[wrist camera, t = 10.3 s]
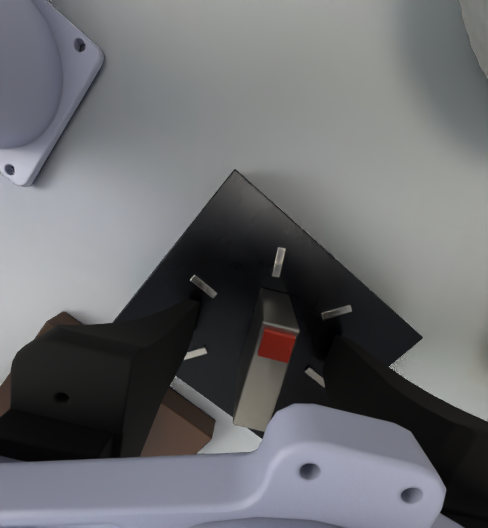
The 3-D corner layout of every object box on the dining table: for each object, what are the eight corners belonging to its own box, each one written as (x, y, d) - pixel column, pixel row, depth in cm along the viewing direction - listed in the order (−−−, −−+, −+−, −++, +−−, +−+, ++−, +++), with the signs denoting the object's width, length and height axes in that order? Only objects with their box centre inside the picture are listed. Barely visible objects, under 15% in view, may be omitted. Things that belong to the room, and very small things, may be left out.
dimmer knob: (264, 374, 14) (267, 439, 10) (238, 368, 14) (231, 430, 10) (289, 294, 13) (302, 334, 9) (260, 287, 13) (262, 324, 9)
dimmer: (131, 306, 16) (107, 328, 13) (238, 173, 14) (234, 168, 11) (279, 418, 18) (283, 457, 15) (397, 315, 15) (425, 339, 13)
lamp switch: (-8, 409, 18) (-61, 452, 15) (63, 310, 16) (18, 338, 13) (133, 499, 20) (110, 555, 17) (215, 420, 18) (207, 467, 15)
